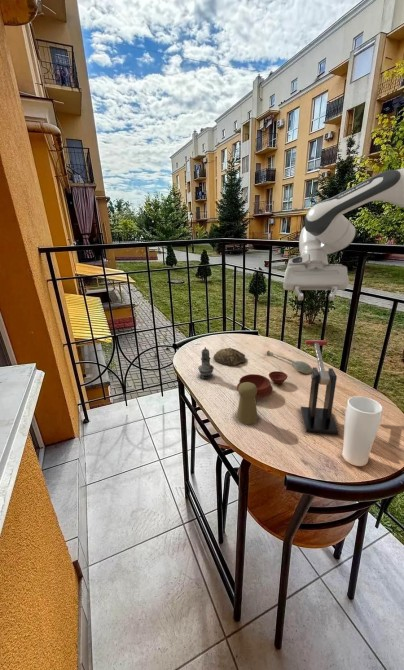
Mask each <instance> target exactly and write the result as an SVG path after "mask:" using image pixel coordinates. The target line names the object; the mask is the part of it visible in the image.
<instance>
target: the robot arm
mask: <svg viewBox="0 0 404 670" xmlns="http://www.w3.org/2000/svg"><path fill="white" fill-rule="evenodd" d="M375 201H376V202H378V201H380V202H385V203H389V204H392V205H394V206H397V207H399V208H403V209H404V167H402V168H398V169H387V170H383V171H382V172H380V173H378V174H375V175H373V176H371V177H369V178H367V179H365V180H363V181H361V182H360V183H357V184H355V185H354V186H352V187H350V188H348V189H346V190H344V191H341V192H340V193H338V194H336V195H334V196H333V197H330V198H327V199H324V200H321V201H318V202H316V203H315V204H313V205H312V206H311V207H310V208H308V210H307V212H306V215H305V217H304V226H303V227H302V229H301V231H300V234H299V239H298V250H299V253H300V255H298V256H296V257H292V258H289V259H288V262H287V265H286V269H285V272H284V275H283V282H282V286H283V287H282V288H283V289H284V290H285V291H293V292H294V295H296V296H297V301H304V293H303V292H300V291H331V293H329V294H328V296H327V297H328V302H329V301H331V302H332V301H335V297H336V296H335V295H336V293H337V291H344V290H346V289H347V288H348V286H349V284H350V278H349V275H348V267H347V266H346V265H343V264H342V263H338V264H335V263H329V262H328V255H332V254H335V253H337V252H339V251H342V250H345V249H346V248H348V247H349V246H350V245H351V244H352V243H353V241H354V239H355V237H356V234H357V229H356V227H355V226H354V224H353V223H351V221H350V220H349V219H348V218H347V217H345V214H347V213H348V212H350V211H353V210H354V209H357V208H358V207H361V206H363V205H365V204H367V203H370V202H375Z"/></svg>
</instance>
